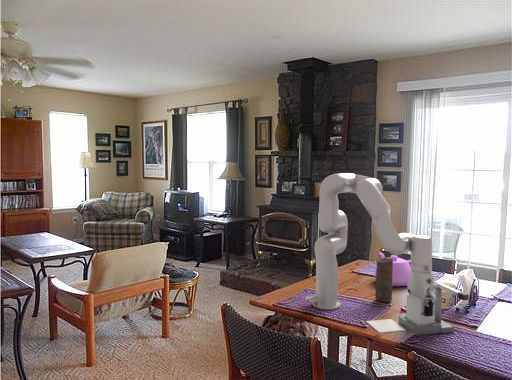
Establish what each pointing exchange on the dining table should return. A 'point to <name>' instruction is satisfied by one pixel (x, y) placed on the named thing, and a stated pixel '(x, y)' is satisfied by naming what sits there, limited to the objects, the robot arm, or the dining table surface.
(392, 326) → the tile pad
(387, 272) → the brown rectangular block
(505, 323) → the dining table surface
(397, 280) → the kettle
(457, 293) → the bar
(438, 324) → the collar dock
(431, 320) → the supplement box
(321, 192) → the robot arm
